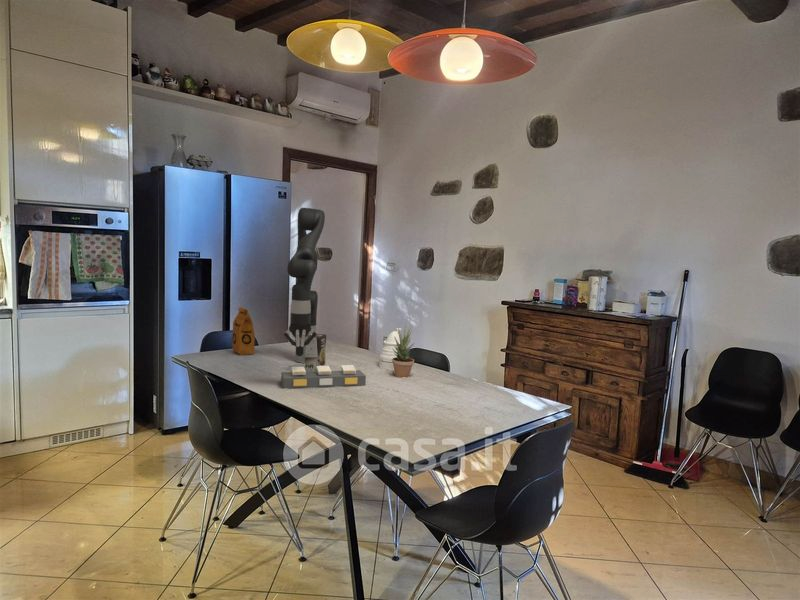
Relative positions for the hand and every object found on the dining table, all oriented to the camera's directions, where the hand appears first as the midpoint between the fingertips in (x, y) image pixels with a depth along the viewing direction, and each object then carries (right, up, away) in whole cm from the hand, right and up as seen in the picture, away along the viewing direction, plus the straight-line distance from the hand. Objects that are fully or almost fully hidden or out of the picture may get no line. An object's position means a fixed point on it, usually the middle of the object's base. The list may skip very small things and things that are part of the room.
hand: (299, 355), depth 217 cm
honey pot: (+36, -10, +42) cm, 56 cm away
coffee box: (+2, -10, +25) cm, 27 cm away
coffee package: (-38, -5, +58) cm, 70 cm away
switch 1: (-1, -6, +3) cm, 7 cm away
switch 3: (+18, -6, +9) cm, 21 cm away
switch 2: (+9, -6, +6) cm, 12 cm away
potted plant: (+40, -11, +26) cm, 49 cm away
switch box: (+8, -12, +6) cm, 16 cm away
